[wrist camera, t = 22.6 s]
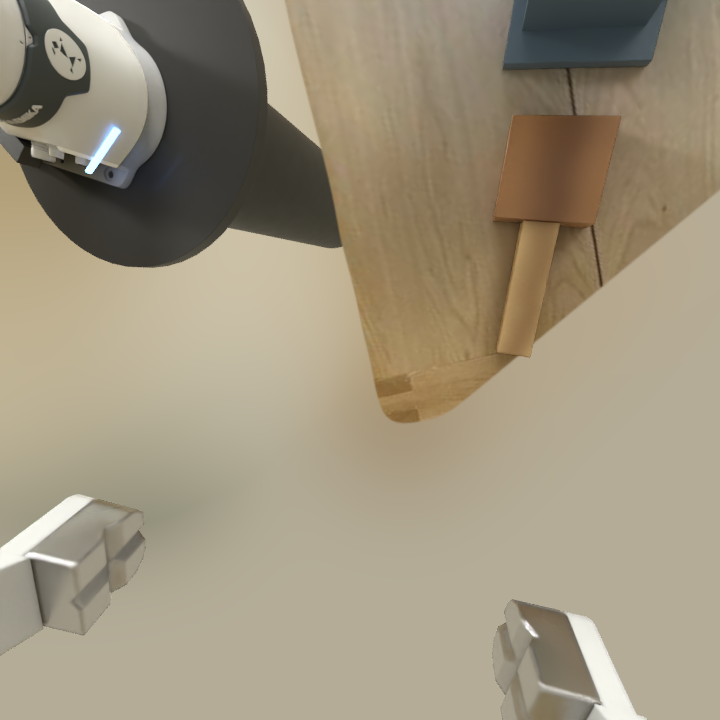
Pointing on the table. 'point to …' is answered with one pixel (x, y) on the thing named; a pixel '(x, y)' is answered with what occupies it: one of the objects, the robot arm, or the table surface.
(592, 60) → the pedestal stand
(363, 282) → the table surface
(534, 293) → the mallet
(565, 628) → the robot arm
